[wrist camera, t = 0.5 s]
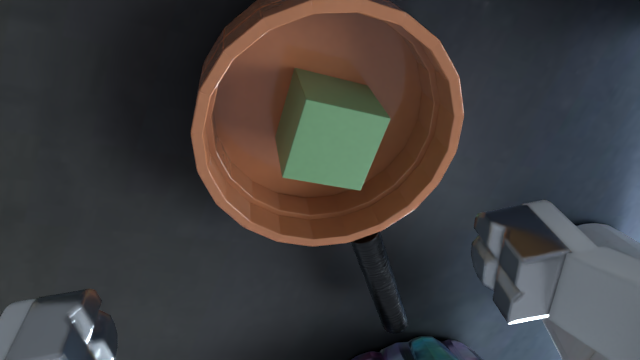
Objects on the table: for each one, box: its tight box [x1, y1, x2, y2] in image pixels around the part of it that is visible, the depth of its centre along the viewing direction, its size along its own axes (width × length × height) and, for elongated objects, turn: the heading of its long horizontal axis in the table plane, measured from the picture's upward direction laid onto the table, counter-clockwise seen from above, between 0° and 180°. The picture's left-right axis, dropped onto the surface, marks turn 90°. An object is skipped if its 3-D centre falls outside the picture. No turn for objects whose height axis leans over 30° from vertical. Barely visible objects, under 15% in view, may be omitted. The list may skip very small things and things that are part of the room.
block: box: [275, 68, 390, 190], centre depth 24 cm, size 4×4×4 cm
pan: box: [190, 0, 464, 247], centre depth 25 cm, size 14×14×4 cm
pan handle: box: [351, 232, 408, 334], centre depth 31 cm, size 10×2×2 cm, turn 18°
